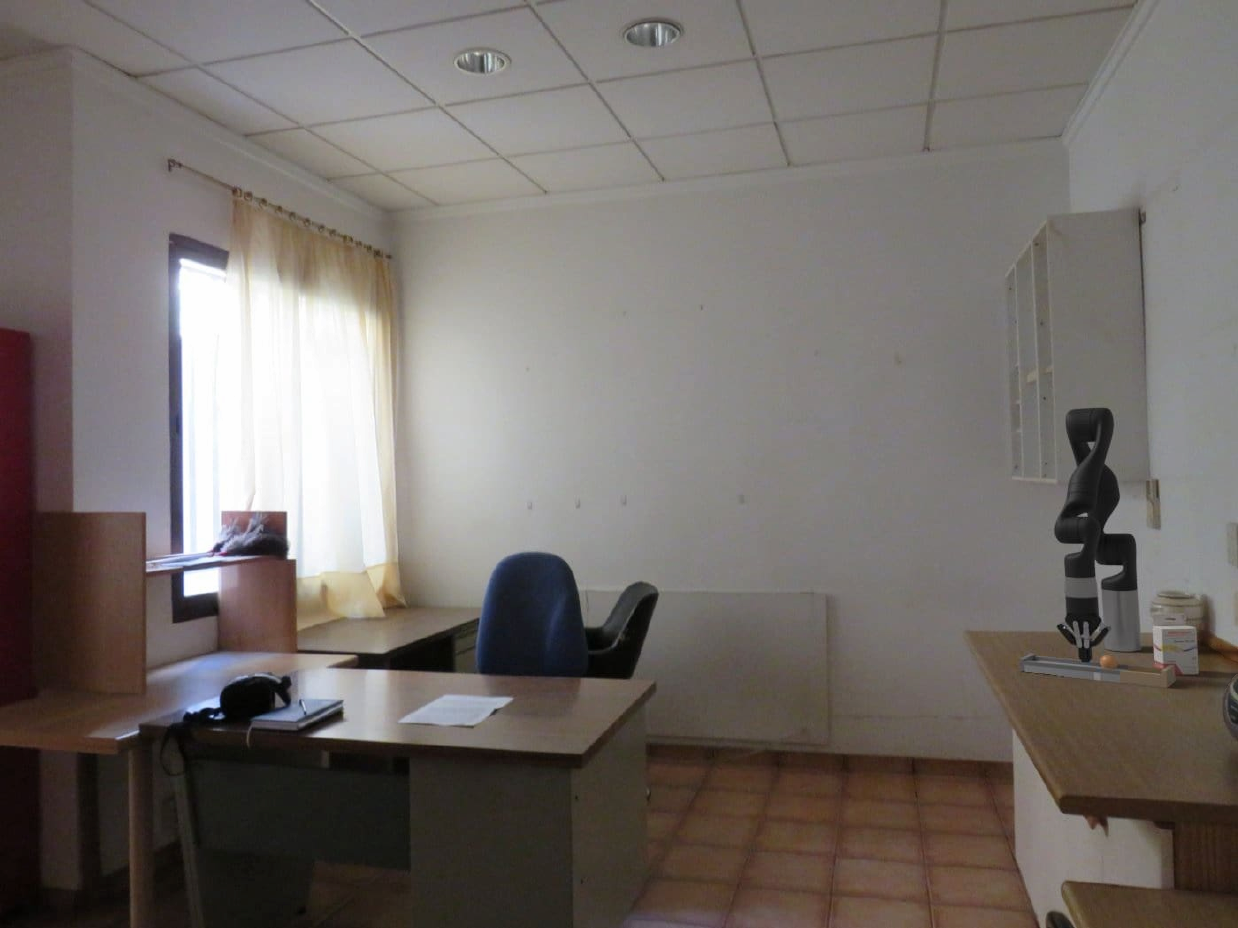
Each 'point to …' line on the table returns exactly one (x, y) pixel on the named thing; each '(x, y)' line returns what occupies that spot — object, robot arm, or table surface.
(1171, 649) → the ink cartridge box
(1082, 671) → the lane
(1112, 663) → the ball
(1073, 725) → the table surface
